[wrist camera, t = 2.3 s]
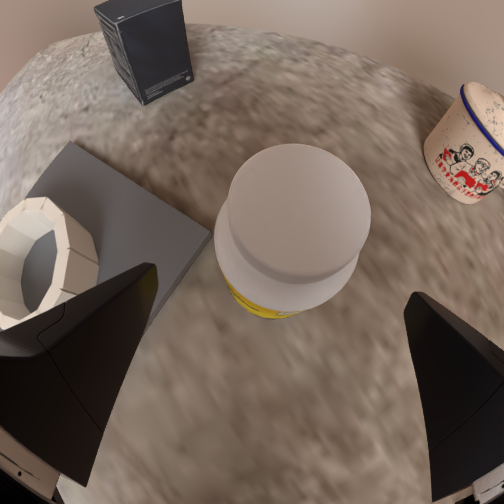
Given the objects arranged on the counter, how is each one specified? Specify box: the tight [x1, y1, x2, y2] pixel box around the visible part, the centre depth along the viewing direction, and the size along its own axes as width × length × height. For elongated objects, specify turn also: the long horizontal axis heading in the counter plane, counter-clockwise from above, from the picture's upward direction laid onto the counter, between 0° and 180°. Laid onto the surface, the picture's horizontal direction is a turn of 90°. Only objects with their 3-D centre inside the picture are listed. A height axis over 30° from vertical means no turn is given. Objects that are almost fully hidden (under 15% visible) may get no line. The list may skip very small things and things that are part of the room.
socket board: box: [0, 141, 212, 336], centre depth 16 cm, size 20×18×5 cm
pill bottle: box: [214, 143, 371, 319], centre depth 14 cm, size 6×6×11 cm
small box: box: [94, 0, 194, 106], centre depth 20 cm, size 11×6×10 cm, turn 36°
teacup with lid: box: [424, 82, 504, 204], centre depth 17 cm, size 12×9×12 cm
